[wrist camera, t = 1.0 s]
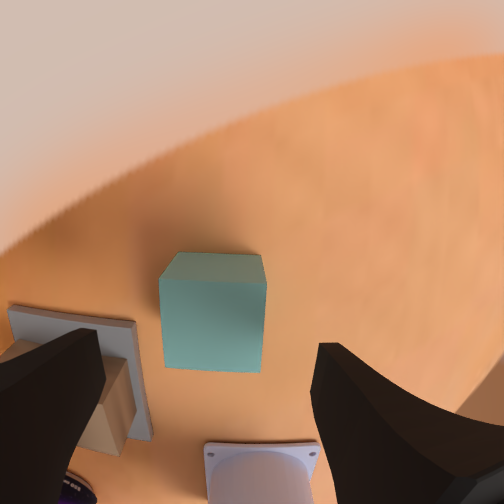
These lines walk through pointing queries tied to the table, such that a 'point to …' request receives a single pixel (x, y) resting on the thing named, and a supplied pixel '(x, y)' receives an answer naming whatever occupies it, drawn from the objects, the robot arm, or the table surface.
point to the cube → (213, 312)
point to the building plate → (110, 341)
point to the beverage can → (76, 491)
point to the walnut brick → (101, 403)
